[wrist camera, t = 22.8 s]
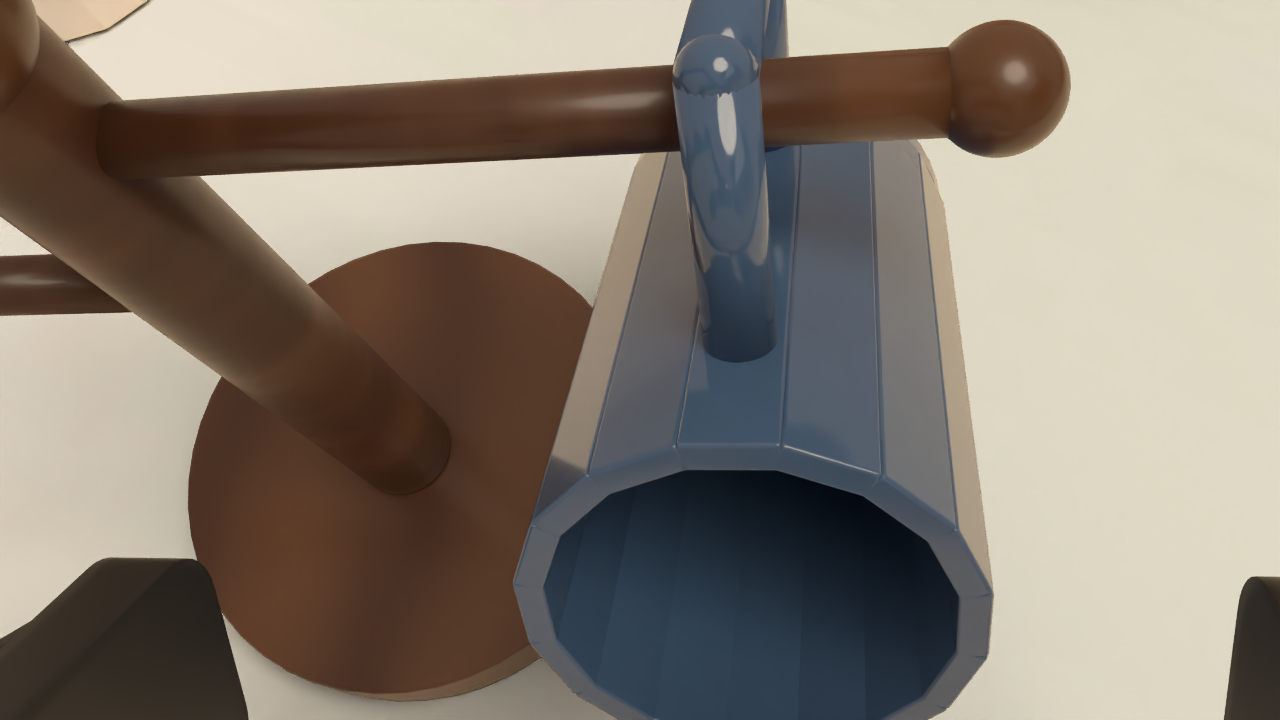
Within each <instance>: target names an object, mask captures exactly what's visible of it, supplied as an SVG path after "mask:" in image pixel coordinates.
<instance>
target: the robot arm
mask: <svg viewBox="0 0 1280 720" xmlns="http://www.w3.org/2000/svg"><path fill="white" fill-rule="evenodd" d="M0 720H248V711H247V706H246V702H245V698H244V695H243V691H242V687H241V684H240V680H239V676H238V672H237V669H236V665H235V661H234V657H233V654H232V650H231V646H230V642H229V639H228V635H227V631H226V627H225V624H224V620H223V616H222V613H221V609H220V605H219V601H218V598H217V594H216V590H215V587H214V584H213V581H212V578H211V576H210V574H209V572H208V571H207V569H206V568H205V567H204V566H203V565H202V564H201V563H200V562H198V561H196V560H194V559H176V558H105V559H102V560H100V561H98V562H96V563H94V564H93V565H92V566H90V567H89V568H88V569H87V570H86V571H85V572H84V573H83V574H82V575H81V576H79V577H78V578H77V579H76V580H75V581H74V582H73V583H72V584H71V585H70V586H69V587H68V588H66V589H65V590H64V591H63V592H62V593H61V594H60V595H59V596H58V597H57V598H56V599H55V600H53V601H52V602H51V603H50V604H49V605H48V606H47V607H46V608H45V609H44V610H43V611H42V612H40V613H39V614H38V615H37V616H36V617H35V618H34V619H33V620H32V621H30V622H29V623H27V624H25V625H24V626H22V627H20V628H18V629H17V630H15V631H13V632H12V633H10V634H8V635H6V636H5V637H3V638H1V639H0ZM1224 720H1280V577H1251V578H1249V579H1248V580H1247V582H1246V583H1245V584H1244V587H1243V589H1242V592H1241V595H1240V599H1239V605H1238V611H1237V619H1236V627H1235V635H1234V643H1233V651H1232V659H1231V667H1230V675H1229V683H1228V691H1227V699H1226V707H1225V715H1224Z"/></svg>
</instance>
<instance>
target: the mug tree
mask: <svg viewBox="0 0 1280 720" xmlns="http://www.w3.org/2000/svg"><path fill="white" fill-rule="evenodd" d="M672 70H673V65H662V66H647V67H631V68H616V69H601V70H585V71H570V72H554V73H539V74H524V75H508V76H493V77H478V78H462V79H447V80H431V81H416V82H401V83H385V84H370V85H355V86H339V87H324V88H308V89H293V90H278V91H262V92H247V93H231V94H216V95H201V96H185V97H170V98H155V99H139V100H124V101H123V100H122V99H121V98H120V97H119V96H118V95H117V94H116V93H115V92H114V91H113V90H112V89H111V88H110V87H109V86H108V85H107V84H106V83H105V82H104V81H103V80H102V79H101V78H100V77H99V76H98V75H97V74H96V73H95V72H94V71H93V70H92V69H91V68H90V67H89V66H88V65H87V64H86V63H85V62H84V61H83V60H82V59H81V58H80V57H79V56H78V55H77V54H76V53H75V52H74V51H73V50H72V49H71V48H70V47H69V46H68V45H67V44H66V43H65V42H64V41H63V40H62V39H61V38H60V37H59V36H58V35H57V34H56V33H55V32H54V31H53V30H52V29H51V28H50V27H49V26H48V25H47V24H46V23H45V22H44V21H43V20H42V19H41V18H40V17H39V16H38V15H37V14H36V10H35V6H34V4H33V2H32V0H0V217H2V218H3V219H4V220H6V221H7V222H9V223H10V224H11V225H13V226H14V227H16V228H17V229H18V230H20V231H21V232H23V233H24V234H25V235H27V236H28V237H29V238H31V239H32V240H34V241H35V242H36V243H38V244H39V245H41V246H42V247H43V248H45V249H46V250H47V251H49V252H50V253H52V254H47V255H21V256H0V316H11V315H48V314H85V313H122V312H133V313H135V314H136V315H137V316H139V317H140V318H142V319H143V320H144V321H146V322H147V323H149V324H150V325H151V326H153V327H154V328H155V329H157V330H158V331H160V332H161V333H162V334H164V335H165V336H167V337H168V338H169V339H171V340H172V341H173V342H175V343H176V344H178V345H179V346H180V347H182V348H183V349H185V350H186V351H187V352H189V353H190V354H191V355H193V356H194V357H196V358H197V359H198V360H200V361H201V362H203V363H204V364H205V365H207V366H208V367H209V368H211V369H212V370H214V371H215V372H216V373H218V374H219V375H221V376H222V377H221V379H220V380H219V382H218V384H217V386H216V388H215V390H214V392H213V394H212V395H211V398H210V400H209V403H208V405H207V408H206V410H205V413H204V415H203V418H202V420H201V423H200V426H199V430H198V434H197V438H196V441H195V445H194V449H193V453H192V460H191V467H190V474H189V489H188V511H189V520H190V529H191V537H192V541H193V545H194V549H195V553H196V557H197V561H198V562H200V563H201V564H202V565H203V566H204V567H205V568H206V569H207V571H208V572H209V574H210V576H211V578H212V581H213V584H214V587H215V590H216V594H217V598H218V601H219V605H220V609H221V611H222V613H223V615H224V616H225V617H226V618H227V620H228V621H229V622H230V623H231V624H232V626H233V627H234V628H235V629H236V630H237V632H238V633H239V634H240V635H241V637H243V638H244V639H245V640H246V641H247V642H248V643H249V644H250V645H252V646H253V647H254V648H255V649H256V650H257V651H258V652H259V653H261V654H262V655H263V656H264V657H266V658H267V659H269V660H271V661H272V662H274V663H275V664H277V665H278V666H280V667H282V668H283V669H285V670H286V671H288V672H290V673H292V674H295V675H297V676H299V677H302V678H304V679H306V680H308V681H311V682H313V683H316V684H319V685H322V686H326V687H329V688H333V689H336V690H340V691H344V692H347V693H351V694H355V695H359V696H362V697H366V698H373V699H381V700H390V701H422V700H432V699H438V698H444V697H450V696H455V695H460V694H463V693H466V692H469V691H472V690H476V689H479V688H482V687H485V686H488V685H490V684H492V683H495V682H497V681H499V680H501V679H503V678H505V677H507V676H510V675H512V674H514V673H516V672H518V671H519V670H521V669H523V668H524V667H526V666H527V665H529V664H530V663H532V662H534V661H535V660H537V659H538V658H540V657H541V656H540V655H539V653H538V652H537V651H536V650H535V649H534V648H533V647H532V646H531V642H529V640H528V637H527V633H526V630H525V626H524V623H523V619H522V616H521V612H520V609H519V605H518V602H517V598H516V595H515V591H514V588H513V577H514V573H515V570H516V566H517V563H518V560H519V556H520V553H521V549H522V546H523V543H524V539H525V536H526V532H527V529H528V526H529V522H530V519H531V516H532V512H533V509H534V505H535V502H536V499H537V495H538V492H539V488H540V485H541V482H542V478H543V475H544V471H545V468H546V465H547V461H548V458H549V455H550V451H551V448H552V444H553V441H554V438H555V434H556V431H557V427H558V424H559V421H560V417H561V414H562V410H563V407H564V404H565V400H566V397H567V393H568V390H569V387H570V383H571V380H572V377H573V373H574V370H575V366H576V363H577V360H578V356H579V353H580V349H581V346H582V343H583V339H584V336H585V332H586V329H587V326H588V322H589V319H590V316H591V312H592V309H593V308H592V307H591V306H590V305H589V303H588V302H587V301H586V300H585V299H584V298H583V297H582V296H581V295H580V294H579V293H578V292H577V291H575V290H574V289H573V288H572V287H571V286H570V285H568V284H567V283H566V282H565V281H564V280H562V279H561V278H559V277H558V276H556V275H555V274H553V273H551V272H550V271H548V270H547V269H545V268H543V267H542V266H540V265H538V264H536V263H534V262H532V261H529V260H527V259H525V258H523V257H520V256H518V255H516V254H513V253H509V252H506V251H502V250H499V249H495V248H492V247H488V246H482V245H475V244H468V243H459V242H429V243H419V244H409V245H404V246H399V247H395V248H390V249H386V250H381V251H378V252H375V253H372V254H369V255H366V256H363V257H360V258H358V259H355V260H352V261H350V262H348V263H346V264H344V265H342V266H340V267H338V268H335V269H333V270H331V271H329V272H327V273H326V274H324V275H322V276H321V277H319V278H317V279H316V280H314V281H313V282H311V283H309V284H307V283H306V282H305V281H304V280H303V279H302V278H301V277H300V276H299V275H298V274H297V273H296V272H295V271H294V270H293V269H292V268H291V267H290V266H289V265H288V264H287V263H286V262H285V261H284V260H283V259H282V258H281V257H280V256H279V255H278V254H277V253H276V252H275V251H274V250H273V249H272V248H271V247H270V246H269V245H268V244H267V243H266V242H265V241H264V240H263V239H262V238H261V237H260V236H259V235H258V234H257V233H256V232H255V231H254V230H253V229H252V228H251V227H250V226H249V225H248V224H247V223H246V222H245V221H244V220H243V219H242V218H241V217H240V216H239V215H238V214H237V213H236V212H235V211H234V210H233V209H232V208H231V207H230V206H229V205H228V204H227V203H226V202H225V201H224V200H223V199H222V198H221V197H220V196H219V195H218V194H217V193H216V192H215V191H214V190H213V189H212V188H211V187H210V186H209V185H208V184H207V183H206V182H205V181H204V180H203V179H202V178H201V177H200V176H206V175H226V174H246V173H265V172H285V171H304V170H324V169H344V168H363V167H383V166H403V165H422V164H442V163H462V162H481V161H501V160H521V159H540V158H560V157H580V156H599V155H619V154H639V153H658V152H678V151H680V143H679V135H678V126H677V118H676V109H675V101H674V92H673V84H672ZM1070 89H1071V81H1070V72H1069V67H1068V65H1067V62H1066V59H1065V56H1064V55H1063V53H1062V51H1061V49H1060V48H1059V47H1058V45H1057V44H1056V43H1055V41H1054V40H1053V39H1052V38H1051V37H1050V36H1048V35H1047V34H1046V33H1044V32H1043V31H1041V30H1040V29H1038V28H1036V27H1034V26H1032V25H1030V24H1027V23H1024V22H1020V21H1014V20H997V21H991V22H986V23H983V24H980V25H978V26H975V27H973V28H971V29H969V30H967V31H966V32H964V33H963V34H961V35H960V36H959V37H957V38H956V39H955V40H954V41H953V42H952V43H951V44H950V45H949V46H948V47H939V48H924V49H908V50H893V51H878V52H862V53H847V54H831V55H816V56H801V57H785V58H770V59H762V62H761V69H760V90H761V104H762V118H763V133H764V147H776V146H796V145H816V144H835V143H855V142H875V141H894V140H914V139H934V138H948V139H950V140H951V141H952V142H953V143H954V144H955V145H957V146H958V147H960V148H961V149H963V150H965V151H967V152H969V153H972V154H975V155H978V156H983V157H990V158H1001V157H1009V156H1014V155H1017V154H1020V153H1023V152H1025V151H1027V150H1029V149H1031V148H1033V147H1035V146H1036V145H1038V144H1039V143H1041V142H1042V141H1043V140H1044V139H1045V138H1047V137H1048V136H1049V135H1050V134H1051V133H1052V132H1053V130H1054V129H1055V128H1056V126H1057V125H1058V123H1059V122H1060V120H1061V119H1062V117H1063V115H1064V113H1065V110H1066V108H1067V104H1068V101H1069V95H1070Z"/></svg>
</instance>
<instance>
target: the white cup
mask: <svg viewBox="0 0 1280 720" xmlns="http://www.w3.org/2000/svg"><path fill="white" fill-rule="evenodd" d="M146 1H147V0H32V2H33V4H34V6H35V10H36V14H37V15H38V16H39V17H40V18H41V19H42V20H43V21H44V22H45V23H46V24H47V25H48V26H49V27H50V28H51V29H52V30H53V31H54V32H55V33H56V34H57V35H58V36H59V37H60V38H61V39H62V40H63V41H68V40H71V39H74V38H78V37H81V36H85V35H88V34H91V33H95V32H98V31H102V30H105V29H108V28H109V27H111V26H112V25H114V24H115V23H116V22H118V21H119V20H121V19H122V18H124V17H125V16H127V15H128V14H129V13H131V12H132V11H134V10H135V9H136V8H138V7H139V6H141V5H142V4H144V3H145V2H146Z"/></svg>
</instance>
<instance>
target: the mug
mask: <svg viewBox="0 0 1280 720" xmlns="http://www.w3.org/2000/svg"><path fill="white" fill-rule="evenodd" d="M785 57H789V46H788V27H787V8H786V0H691V4H690V7H689V11H688V14H687V18H686V21H685V25H684V29H683V32H682V36H681V39H680V43H679V46H678V50H677V53H676V57H675V61H674V64H673V70H672V84H673V92H674V101H675V109H676V118H677V126H678V135H679V143H680V151H678V152H658V153H642V154H641V155H640V157H639V159H638V161H637V164H636V166H635V168H634V171H633V174H632V177H631V181H630V184H629V187H628V191H627V194H626V197H625V201H624V204H623V207H622V211H621V214H620V217H619V221H618V224H617V227H616V231H615V234H614V238H613V241H612V244H611V248H610V251H609V255H608V258H607V261H606V265H605V268H604V271H603V275H602V278H601V282H600V285H599V288H598V292H597V295H596V299H595V302H594V305H593V309H592V312H591V316H590V319H589V322H588V326H587V329H586V332H585V336H584V339H583V343H582V346H581V349H580V353H579V356H578V360H577V363H576V366H575V370H574V373H573V377H572V380H571V383H570V387H569V390H568V393H567V397H566V400H565V404H564V407H563V410H562V414H561V417H560V421H559V424H558V427H557V431H556V434H555V438H554V441H553V444H552V448H551V451H550V455H549V458H548V461H547V465H546V468H545V471H544V475H543V478H542V482H541V485H540V488H539V492H538V495H537V499H536V502H535V505H534V509H533V512H532V516H531V519H530V522H529V526H528V529H527V532H526V536H525V539H524V543H523V546H522V549H521V553H520V556H519V560H518V563H517V566H516V570H515V573H514V577H513V588H514V591H515V595H516V598H517V602H518V605H519V609H520V612H521V616H522V619H523V623H524V626H525V630H526V633H527V637H528V640H529V642H531V646H532V647H533V648H534V649H535V650H536V651H537V652H538V653H539V655H540V656H541V657H542V658H543V659H544V660H545V661H546V662H547V664H548V665H549V666H550V667H551V668H552V669H553V670H554V671H555V673H556V674H557V675H558V676H559V677H560V678H561V679H562V680H563V682H564V683H565V684H566V685H567V686H568V687H569V688H570V689H571V691H572V692H573V693H576V695H577V696H578V697H580V698H582V699H583V700H585V701H587V702H589V703H590V704H592V705H594V706H596V707H597V708H599V709H601V710H602V711H604V712H606V713H608V714H609V715H611V716H613V717H615V718H616V719H618V720H929V719H931V718H933V717H934V716H936V715H938V714H940V713H942V712H944V711H945V710H946V709H947V708H949V707H950V706H951V705H952V703H953V702H954V701H955V699H956V698H957V697H958V695H959V694H960V693H961V692H962V690H963V689H964V688H965V686H966V685H967V684H968V683H969V681H970V680H971V679H972V677H973V676H974V675H975V674H976V672H977V671H978V670H979V668H980V667H981V666H982V665H983V663H984V662H985V661H986V659H987V656H988V654H989V648H990V636H991V624H992V612H993V601H994V591H993V583H992V575H991V567H990V560H989V552H988V544H987V536H986V529H985V521H984V513H983V505H982V497H981V490H980V482H979V474H978V466H977V458H976V451H975V443H974V435H973V427H972V419H971V412H970V404H969V396H968V388H967V380H966V373H965V365H964V357H963V349H962V341H961V334H960V326H959V318H958V310H957V302H956V295H955V287H954V279H953V271H952V264H951V256H950V248H949V240H948V232H947V225H946V217H945V209H944V204H943V201H942V199H941V197H940V193H939V188H938V183H937V179H936V176H935V174H934V171H933V168H932V166H931V163H930V161H929V159H928V157H927V156H926V154H925V152H924V150H923V148H922V147H921V145H920V144H919V142H918V141H917V140H916V139H914V140H894V141H875V142H855V143H835V144H816V145H796V146H776V147H764V133H763V118H762V104H761V90H760V69H761V62H762V59H770V58H785Z"/></svg>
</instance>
